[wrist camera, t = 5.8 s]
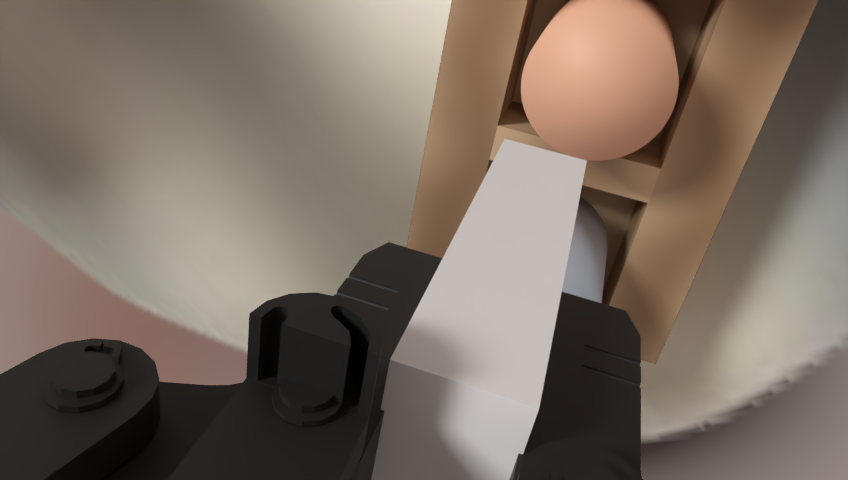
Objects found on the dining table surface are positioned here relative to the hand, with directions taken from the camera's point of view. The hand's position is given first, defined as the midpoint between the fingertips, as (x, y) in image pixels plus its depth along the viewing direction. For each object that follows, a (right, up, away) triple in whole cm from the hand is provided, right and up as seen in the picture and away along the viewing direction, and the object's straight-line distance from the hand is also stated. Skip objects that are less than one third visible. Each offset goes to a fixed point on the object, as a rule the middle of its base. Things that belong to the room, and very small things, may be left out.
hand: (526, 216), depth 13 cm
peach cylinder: (+5, +7, +15) cm, 17 cm away
